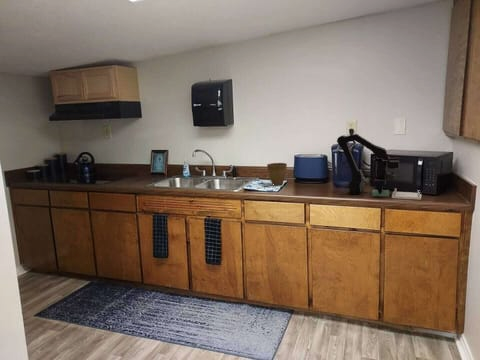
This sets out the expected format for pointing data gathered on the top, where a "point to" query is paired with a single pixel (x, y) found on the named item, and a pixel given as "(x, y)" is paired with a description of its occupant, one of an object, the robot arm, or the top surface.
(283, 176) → the plant pot
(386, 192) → the circuit board
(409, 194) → the chassis plate
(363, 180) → the mechanical component
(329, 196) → the top surface
